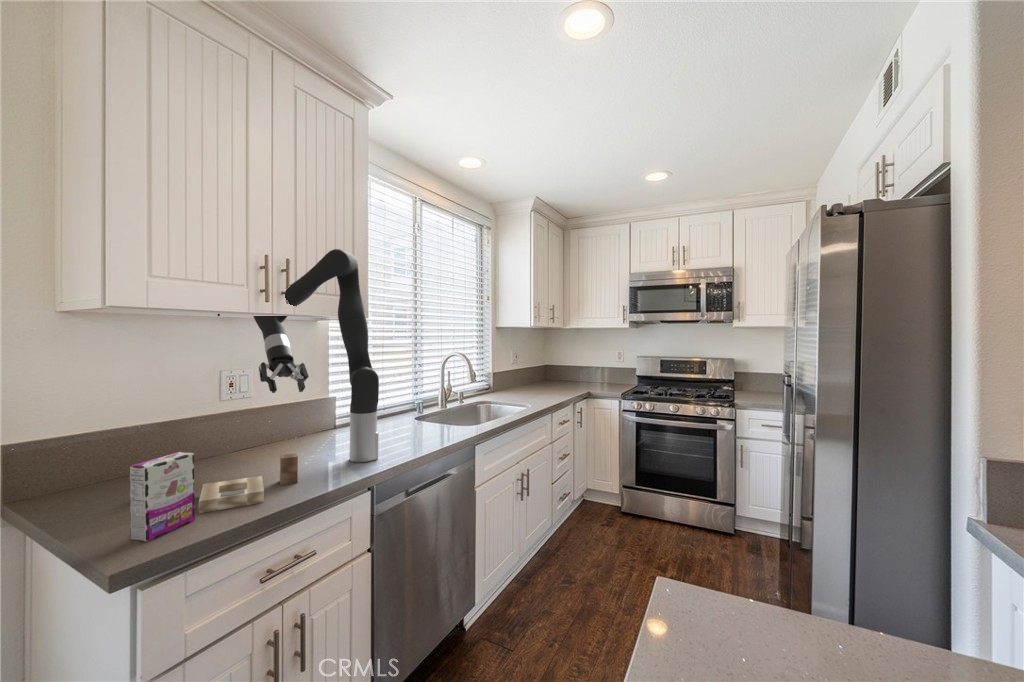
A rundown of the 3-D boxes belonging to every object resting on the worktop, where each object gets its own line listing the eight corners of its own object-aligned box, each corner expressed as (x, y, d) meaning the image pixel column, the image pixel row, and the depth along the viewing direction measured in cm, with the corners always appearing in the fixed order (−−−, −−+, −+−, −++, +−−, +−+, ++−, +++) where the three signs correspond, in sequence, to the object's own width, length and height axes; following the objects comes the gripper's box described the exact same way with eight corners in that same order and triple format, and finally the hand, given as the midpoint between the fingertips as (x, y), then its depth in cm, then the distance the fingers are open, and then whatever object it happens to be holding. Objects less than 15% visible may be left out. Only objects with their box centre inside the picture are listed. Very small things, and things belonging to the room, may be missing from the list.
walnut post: (295, 478, 132) (296, 453, 131) (297, 482, 128) (297, 456, 128) (279, 481, 129) (280, 454, 129) (280, 485, 125) (281, 458, 125)
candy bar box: (178, 518, 102) (178, 451, 102) (195, 520, 101) (196, 452, 101) (127, 540, 91) (128, 464, 91) (146, 543, 90) (147, 466, 90)
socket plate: (261, 485, 125) (261, 475, 125) (263, 502, 113) (264, 490, 113) (203, 494, 117) (203, 483, 117) (198, 513, 105) (198, 500, 105)
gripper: (259, 342, 136) (269, 385, 130) (304, 345, 147) (315, 384, 141) (251, 356, 140) (260, 398, 133) (295, 357, 151) (306, 396, 144)
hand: (288, 391), depth 137 cm, fingers open, 8 cm apart
